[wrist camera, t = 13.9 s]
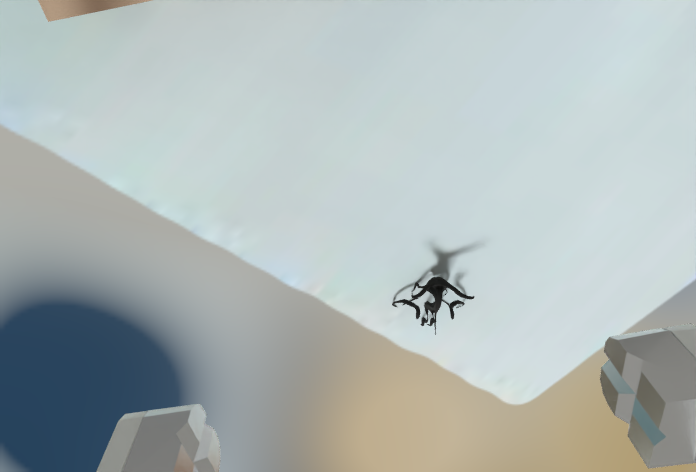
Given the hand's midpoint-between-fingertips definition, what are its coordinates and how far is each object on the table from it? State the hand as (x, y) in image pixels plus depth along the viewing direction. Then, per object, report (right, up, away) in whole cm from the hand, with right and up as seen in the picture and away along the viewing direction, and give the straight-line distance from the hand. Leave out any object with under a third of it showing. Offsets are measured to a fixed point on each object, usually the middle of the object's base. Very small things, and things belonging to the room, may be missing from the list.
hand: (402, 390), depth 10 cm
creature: (+8, -3, +42) cm, 42 cm away
